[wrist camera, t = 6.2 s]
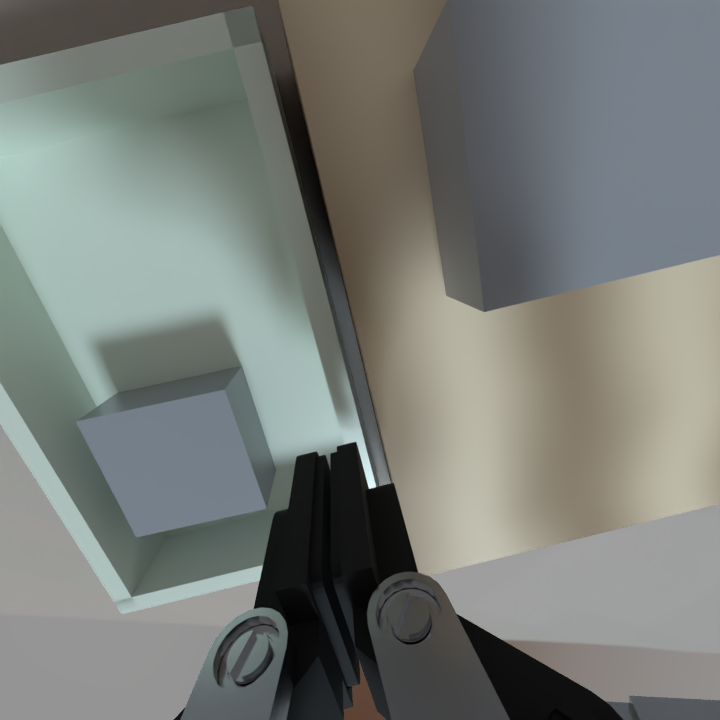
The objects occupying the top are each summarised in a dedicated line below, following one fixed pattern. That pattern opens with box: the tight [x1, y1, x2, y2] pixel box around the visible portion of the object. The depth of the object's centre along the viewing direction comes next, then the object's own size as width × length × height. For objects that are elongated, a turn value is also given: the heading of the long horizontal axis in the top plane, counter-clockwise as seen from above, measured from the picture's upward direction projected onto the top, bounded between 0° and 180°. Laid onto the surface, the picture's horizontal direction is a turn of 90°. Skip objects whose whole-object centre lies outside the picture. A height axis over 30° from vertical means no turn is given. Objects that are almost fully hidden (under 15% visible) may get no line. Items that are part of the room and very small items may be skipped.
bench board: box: [277, 0, 720, 576], centre depth 12 cm, size 12×17×5 cm
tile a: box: [76, 366, 276, 537], centre depth 14 cm, size 5×5×2 cm
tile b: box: [413, 0, 720, 312], centre depth 7 cm, size 5×5×2 cm
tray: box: [0, 5, 379, 614], centre depth 13 cm, size 11×17×4 cm, turn 13°
